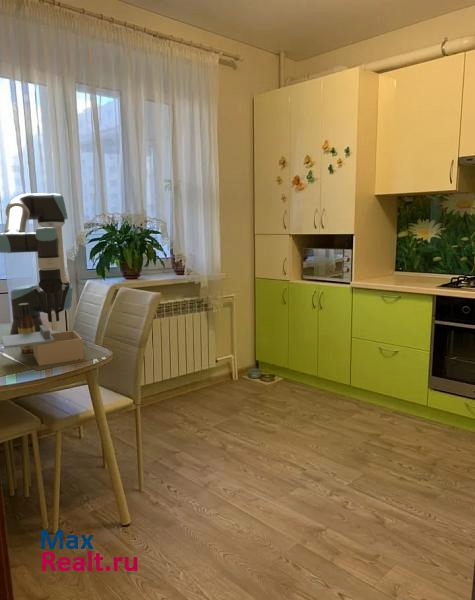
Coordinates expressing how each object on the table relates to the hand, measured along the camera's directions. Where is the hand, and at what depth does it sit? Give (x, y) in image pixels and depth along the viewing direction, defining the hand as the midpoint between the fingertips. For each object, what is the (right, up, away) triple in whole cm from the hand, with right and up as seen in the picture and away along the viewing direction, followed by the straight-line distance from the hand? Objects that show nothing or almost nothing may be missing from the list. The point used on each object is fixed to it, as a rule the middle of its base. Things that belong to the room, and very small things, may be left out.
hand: (54, 329), depth 181 cm
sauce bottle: (-15, -10, +11) cm, 21 cm away
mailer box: (+1, -11, +2) cm, 11 cm away
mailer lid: (-8, -4, -4) cm, 10 cm away
